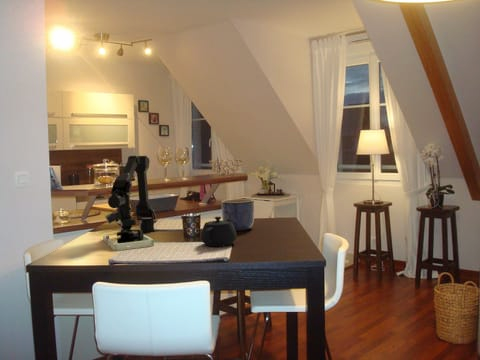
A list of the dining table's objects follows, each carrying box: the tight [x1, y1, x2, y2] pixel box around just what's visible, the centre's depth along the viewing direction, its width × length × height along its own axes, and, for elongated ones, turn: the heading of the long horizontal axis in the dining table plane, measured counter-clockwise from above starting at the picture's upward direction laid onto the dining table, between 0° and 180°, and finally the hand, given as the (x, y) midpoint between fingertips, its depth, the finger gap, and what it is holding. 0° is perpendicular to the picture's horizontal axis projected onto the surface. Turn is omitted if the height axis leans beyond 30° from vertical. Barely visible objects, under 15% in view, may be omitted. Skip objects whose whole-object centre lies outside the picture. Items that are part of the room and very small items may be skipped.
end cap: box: [116, 228, 145, 244], centre depth 216 cm, size 10×7×7 cm
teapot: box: [200, 216, 238, 248], centre depth 209 cm, size 25×16×12 cm, turn 156°
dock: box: [102, 235, 110, 244], centre depth 230 cm, size 16×10×3 cm, turn 116°
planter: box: [221, 198, 255, 232], centre depth 244 cm, size 17×17×15 cm
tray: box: [107, 234, 155, 252], centre depth 215 cm, size 17×16×3 cm
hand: (125, 238), depth 223 cm, fingers closed
